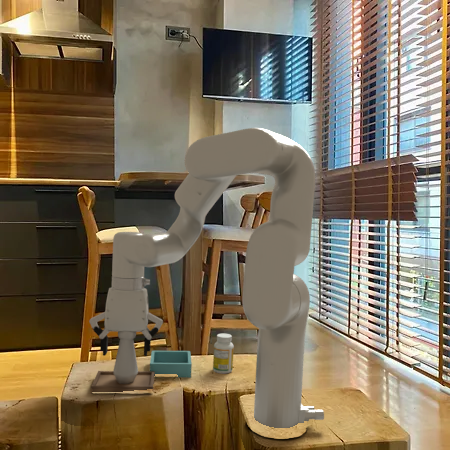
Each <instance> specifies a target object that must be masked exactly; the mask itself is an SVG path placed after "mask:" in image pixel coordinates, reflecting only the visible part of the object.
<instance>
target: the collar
mask: <svg viewBox="0 0 450 450" xmlns="http://www.w3.org/2000/svg"><path fill="white" fill-rule="evenodd" d="M150 354H151V355H150V361H149V371H155V374H177V375H178V377H177V378H192V364H193V363H192V355H191V351H190V350H151V353H150Z"/></svg>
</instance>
